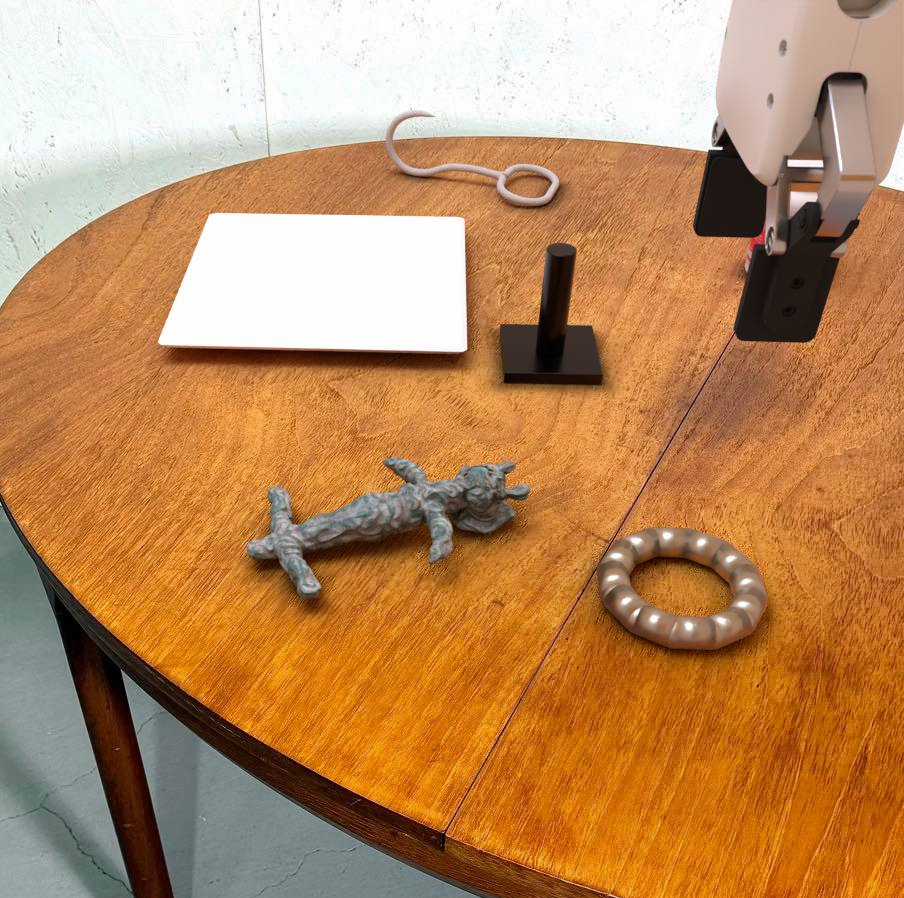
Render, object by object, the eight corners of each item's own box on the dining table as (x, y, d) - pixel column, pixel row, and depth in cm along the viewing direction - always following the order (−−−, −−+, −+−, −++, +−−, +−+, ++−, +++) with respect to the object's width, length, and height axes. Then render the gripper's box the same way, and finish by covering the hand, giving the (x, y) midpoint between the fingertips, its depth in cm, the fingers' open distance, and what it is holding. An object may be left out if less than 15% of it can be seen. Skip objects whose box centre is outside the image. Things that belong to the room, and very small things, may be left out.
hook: (395, 151, 125) (558, 199, 121) (367, 181, 118) (538, 233, 114) (405, 88, 120) (575, 136, 116) (375, 116, 113) (555, 168, 109)
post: (590, 335, 94) (606, 227, 87) (601, 384, 87) (619, 273, 81) (499, 333, 94) (508, 226, 87) (503, 382, 88) (513, 271, 81)
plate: (159, 363, 91) (156, 342, 89) (211, 230, 110) (209, 211, 109) (466, 370, 89) (467, 349, 88) (463, 234, 109) (464, 215, 108)
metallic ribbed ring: (742, 545, 72) (748, 523, 71) (779, 658, 64) (787, 635, 63) (588, 541, 73) (591, 519, 71) (606, 653, 65) (611, 630, 64)
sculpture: (555, 563, 71) (554, 506, 67) (273, 644, 69) (258, 591, 65) (495, 464, 79) (492, 410, 76) (242, 535, 77) (228, 482, 74)
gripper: (1093, -132, 29) (894, 391, 41) (895, -208, 42) (786, 204, 54) (816, -134, 30) (695, 385, 41) (705, -208, 43) (636, 201, 54)
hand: (747, 282), depth 47 cm, fingers open, 9 cm apart
